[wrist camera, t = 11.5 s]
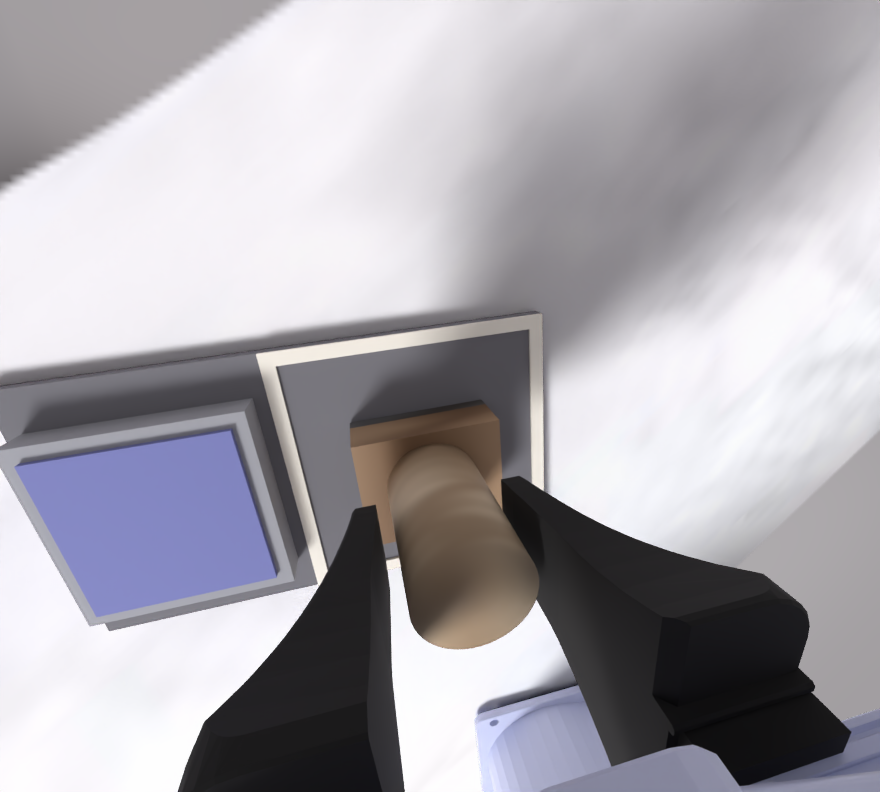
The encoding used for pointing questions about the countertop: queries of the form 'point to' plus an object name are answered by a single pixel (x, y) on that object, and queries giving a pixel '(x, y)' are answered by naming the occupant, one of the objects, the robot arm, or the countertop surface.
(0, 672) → the countertop surface
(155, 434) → the stamp mat
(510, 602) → the stamp
